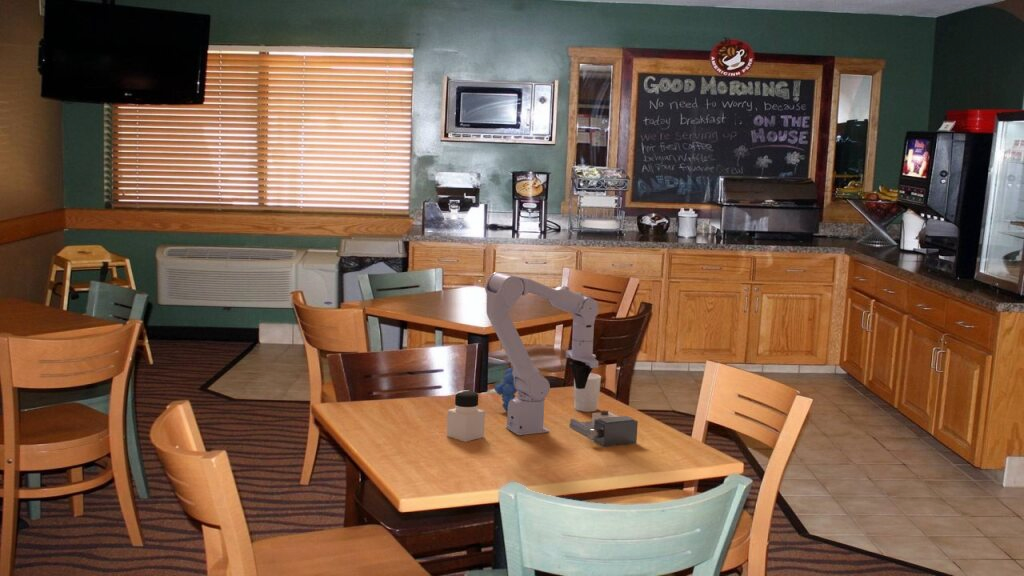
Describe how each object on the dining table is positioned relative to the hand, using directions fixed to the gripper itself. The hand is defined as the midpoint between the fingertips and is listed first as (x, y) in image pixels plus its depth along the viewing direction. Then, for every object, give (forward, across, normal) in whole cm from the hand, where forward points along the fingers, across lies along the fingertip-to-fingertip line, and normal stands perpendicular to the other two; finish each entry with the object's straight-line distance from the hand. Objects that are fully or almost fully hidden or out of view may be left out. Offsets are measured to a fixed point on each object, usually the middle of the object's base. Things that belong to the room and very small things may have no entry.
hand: (580, 388), depth 267 cm
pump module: (+9, -12, -1) cm, 15 cm away
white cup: (+11, +14, -10) cm, 21 cm away
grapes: (+10, +21, +13) cm, 26 cm away
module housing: (+10, -11, +1) cm, 15 cm away
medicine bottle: (+10, -1, +34) cm, 36 cm away
